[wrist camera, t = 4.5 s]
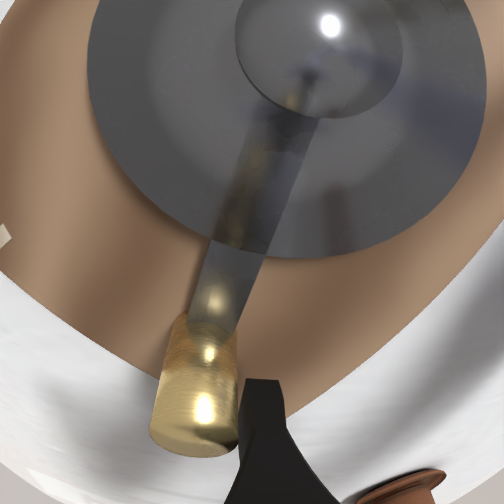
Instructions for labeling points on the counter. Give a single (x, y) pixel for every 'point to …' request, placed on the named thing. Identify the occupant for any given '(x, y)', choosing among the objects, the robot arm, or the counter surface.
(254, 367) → the board
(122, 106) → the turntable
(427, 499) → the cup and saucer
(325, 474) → the counter surface
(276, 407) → the robot arm
